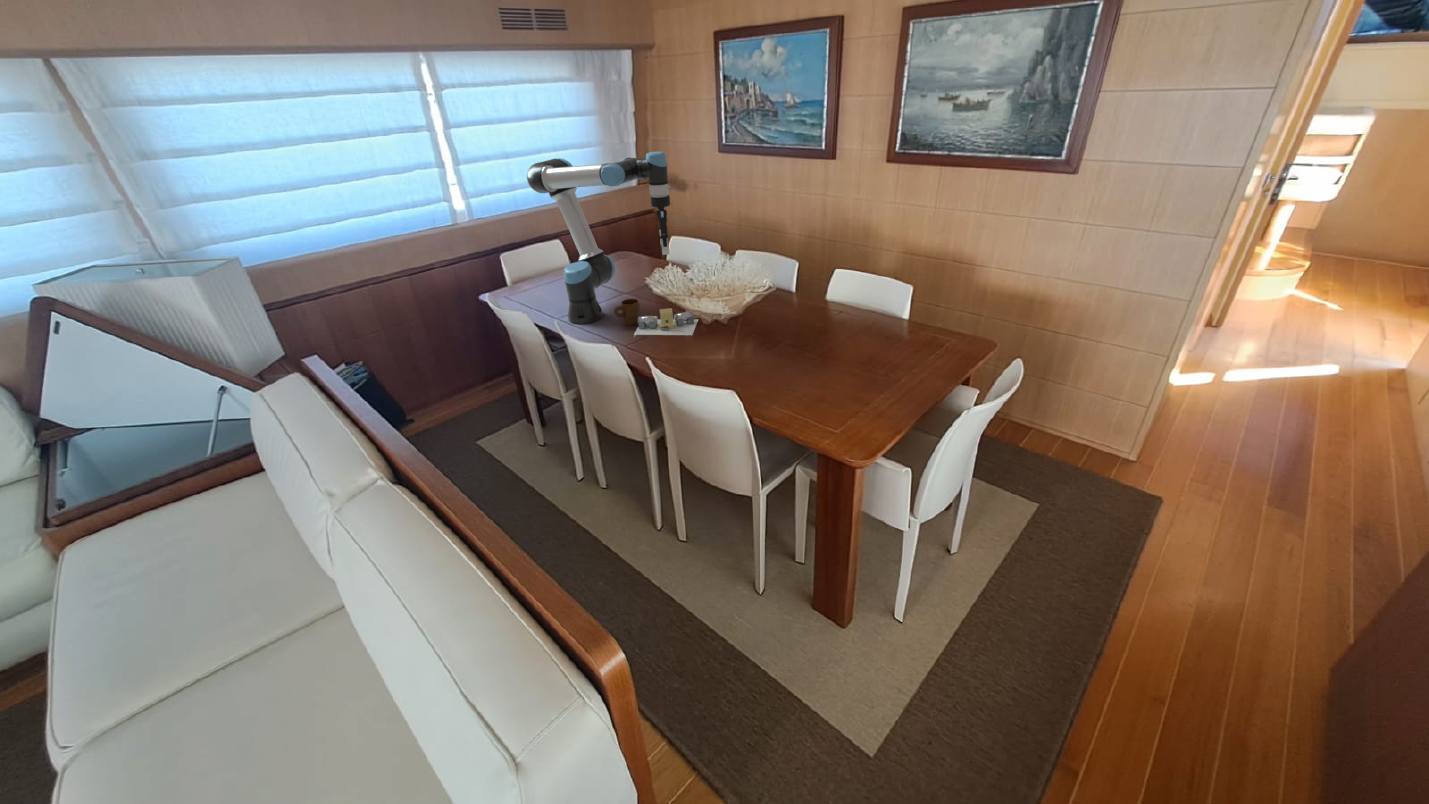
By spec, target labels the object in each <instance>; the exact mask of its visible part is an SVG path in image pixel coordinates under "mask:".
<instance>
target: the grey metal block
mask: <svg viewBox="0 0 1429 804" xmlns="http://www.w3.org/2000/svg"><path fill="white" fill-rule="evenodd" d="M673 314H674V313H673ZM673 319H674V320H675V324H676V325H677V326H678V327H680V326H684V321H685V322H686V323H687V324H688V325H690V324H694V319H695V314H694V312H693V311H692V310H690V311H684V312H679V313H675V314H674V315H673Z"/></svg>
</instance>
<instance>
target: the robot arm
mask: <svg viewBox="0 0 1429 804" xmlns="http://www.w3.org/2000/svg"><path fill="white" fill-rule="evenodd" d="M526 173H527V174H526V181H527V183H528V186H529V187H530V188H531V189H532V190H533V191H534V192H537V193H539V194H547V193H548V194H549V197H550V198H551V199H553V200H555V201H556V204H557V206H558V208H559V210H560V214H561V215H562V217H563V220H564V221H565V223H566V226H567V228H568V231H569V233H570V235H571V237H572V238H571V239H572V240H573V242H574V244H575V247H576V250H577V252H578V253H579V257H578V261H576V262H572V263H569V264H567V265H566V266H565V268H564V269H563V280H564V283H565V288H566V293H567V298H568V309H567V310H568V311H567V319H568V321H569V322H570V323H572V324H578V325H579V324H580V325H581V324H582V325H583V324H585V325H586V324H590V323H594V322H596V321H599V320H601V319H602V318H603V317H604V314H603V313H604V312H603V309H602V307H601V305H600V303H599V300H598V299H597V296H596V295H597V294H596V290H595V289H598V288H599V287H601V286H602V285H604V284H607V283H608V282H609V281H611V280H612V279H613V278H614V276H615V272H616V265H615V262H614V260H613V258H611V257H609V256H608V255H606V254H605V253H604V250H603V249H600V248H599V247H598V245H597V242H596V240H595V237H594V234H593V233H592V230H591V227H590V226H589V224H588V221H587V219H586V216H585V214H584V211H583V209H582V207H581V203H580V201H579V199H578V198H577V195H576V192H577V189H578V188H587V187H598V186H600V187H601V186H607V187H617V186H620V185H623V184H625V183H629V182H631V181H635V180H648V187H649V195H650V206H651V207H652V208H657V210H656V211H655V212H656V218H657V223H658V230H659V236H658V237H659V240H660V247H661V252H662V256H665V255H666V256H667V255H670V248H669V247H670V246H669V235H668V225H667V222H668V217H667V216H668V214H667V213H668V212H667V209H665V208H668V207H669V206H671V199H670V198H671V197H670V190H669V189H671V185H669V179H668V177H669V176H668V175H669V174H668V162H667V156H666V153H665V152H664V151H650V152H647V153H646V154H645V157H629V156H628V157H622V158H621V159H620V160H619V161H617V162H609V163H608V162H606V163H599V164H585V165H583V164H582V165H573V164H572V163H571V162H570V161H568V160H566V159H565V158H560V157H559V158H552V159H548V160H544V161H540V162H539V161H538V162H535V163H534V164H532V165H530V167H529V168H528V169H527V172H526Z"/></svg>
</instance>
